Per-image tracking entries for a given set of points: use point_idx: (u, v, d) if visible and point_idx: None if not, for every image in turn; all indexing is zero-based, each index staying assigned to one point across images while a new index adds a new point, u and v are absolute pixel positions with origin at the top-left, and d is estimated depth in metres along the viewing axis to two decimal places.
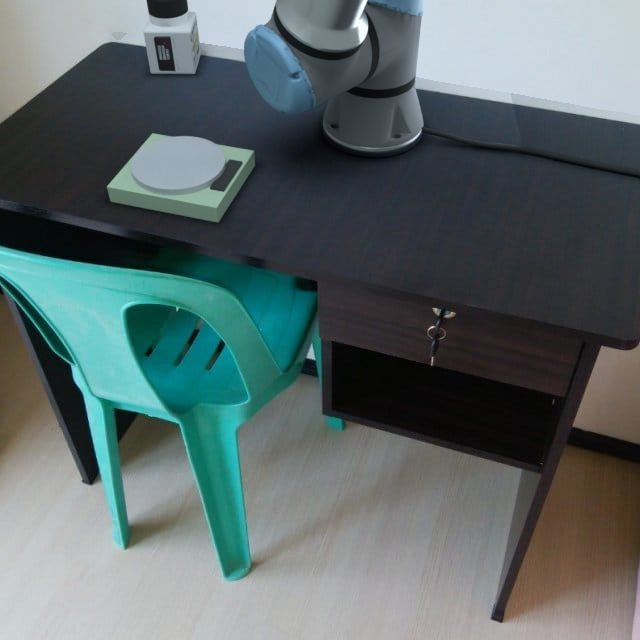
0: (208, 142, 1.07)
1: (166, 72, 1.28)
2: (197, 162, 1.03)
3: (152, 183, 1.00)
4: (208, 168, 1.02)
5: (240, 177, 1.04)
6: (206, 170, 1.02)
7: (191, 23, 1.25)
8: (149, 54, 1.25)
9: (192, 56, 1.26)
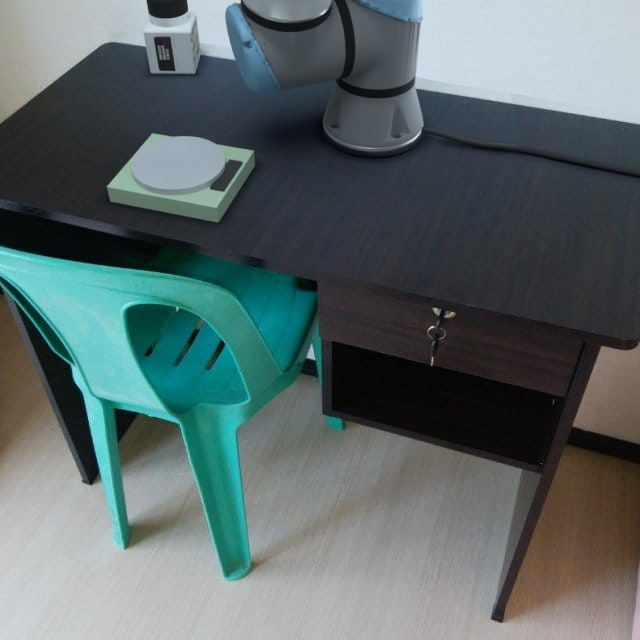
0: (208, 142, 1.07)
1: (166, 72, 1.28)
2: (197, 162, 1.03)
3: (152, 183, 1.00)
4: (208, 168, 1.02)
5: (240, 177, 1.04)
6: (206, 170, 1.02)
7: (191, 23, 1.25)
8: (149, 54, 1.25)
9: (192, 56, 1.26)
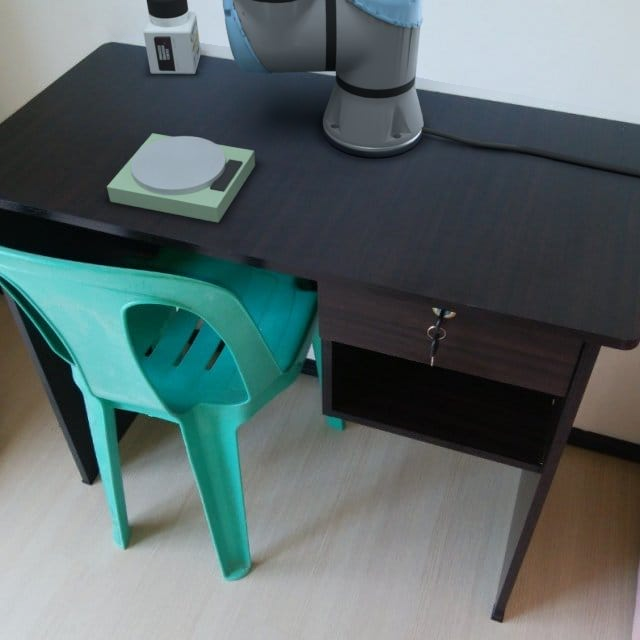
0: (208, 142, 1.07)
1: (166, 72, 1.28)
2: (197, 162, 1.03)
3: (152, 183, 1.00)
4: (208, 168, 1.02)
5: (240, 177, 1.04)
6: (206, 170, 1.02)
7: (191, 23, 1.25)
8: (149, 54, 1.25)
9: (192, 56, 1.26)
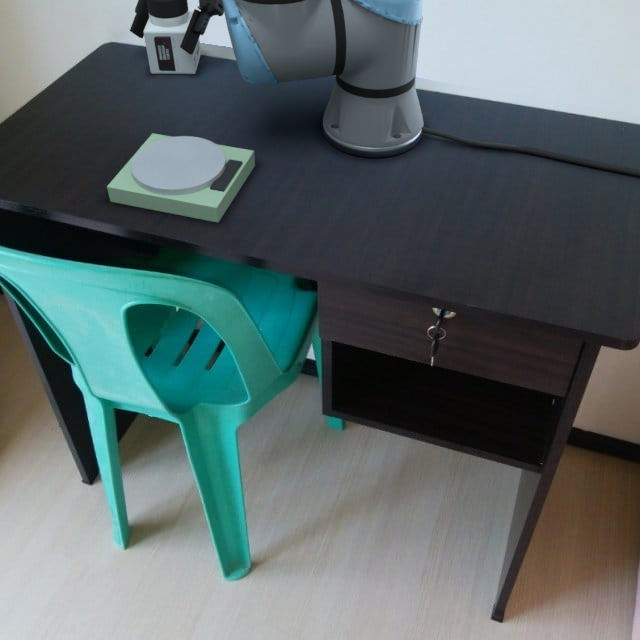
0: (208, 142, 1.07)
1: (166, 72, 1.28)
2: (197, 162, 1.03)
3: (152, 183, 1.00)
4: (208, 168, 1.02)
5: (240, 177, 1.04)
6: (206, 170, 1.02)
7: None
8: (149, 54, 1.25)
9: (192, 56, 1.26)
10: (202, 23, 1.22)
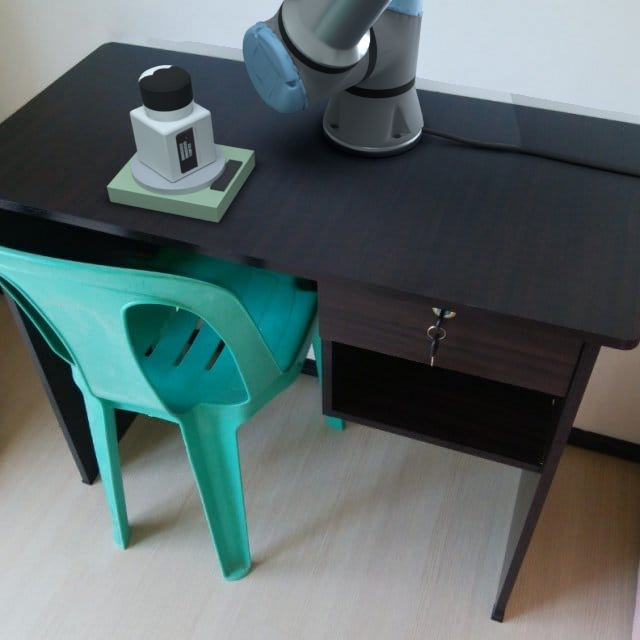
0: None
1: (188, 172, 1.01)
2: None
3: (152, 183, 1.00)
4: (208, 168, 1.02)
5: (240, 177, 1.04)
6: (206, 170, 1.02)
7: None
8: (171, 159, 0.97)
9: (213, 140, 1.01)
10: None
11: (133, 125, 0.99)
